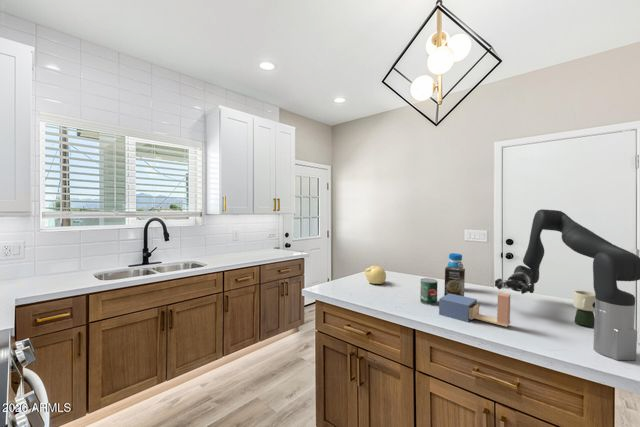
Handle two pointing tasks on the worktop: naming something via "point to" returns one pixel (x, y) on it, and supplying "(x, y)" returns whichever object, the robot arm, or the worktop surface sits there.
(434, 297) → the canned tomato
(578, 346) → the worktop surface
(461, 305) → the sleeve
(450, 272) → the coffee box
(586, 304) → the character mug
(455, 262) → the beverage bottle
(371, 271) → the yellow apple
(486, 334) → the worktop surface
